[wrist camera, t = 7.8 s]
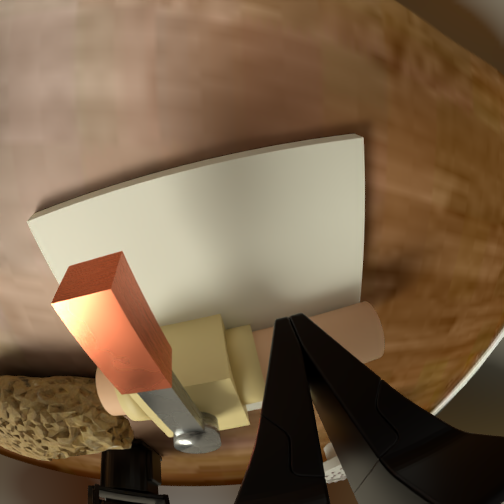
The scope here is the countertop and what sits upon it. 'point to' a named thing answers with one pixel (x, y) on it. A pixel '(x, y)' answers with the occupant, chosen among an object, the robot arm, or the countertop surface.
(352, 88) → the countertop surface
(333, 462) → the showerhead
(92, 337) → the valve lever
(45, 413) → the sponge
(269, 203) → the valve board
